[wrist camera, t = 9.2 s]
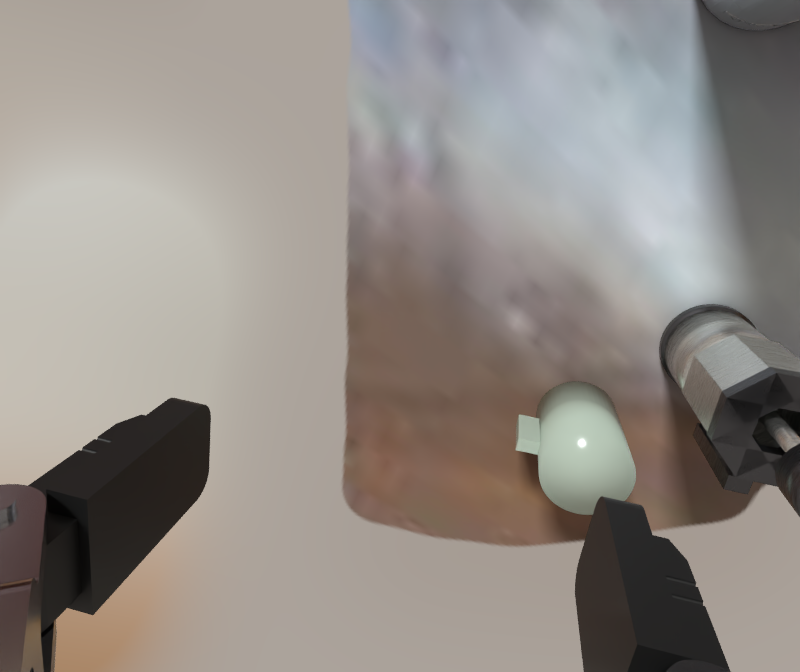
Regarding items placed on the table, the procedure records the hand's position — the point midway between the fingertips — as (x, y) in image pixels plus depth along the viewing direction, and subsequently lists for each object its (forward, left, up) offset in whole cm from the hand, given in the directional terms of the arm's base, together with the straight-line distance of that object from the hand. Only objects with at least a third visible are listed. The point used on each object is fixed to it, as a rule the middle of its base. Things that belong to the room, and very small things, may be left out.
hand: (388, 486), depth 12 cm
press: (+6, +18, -36) cm, 41 cm away
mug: (+14, +10, -36) cm, 40 cm away
